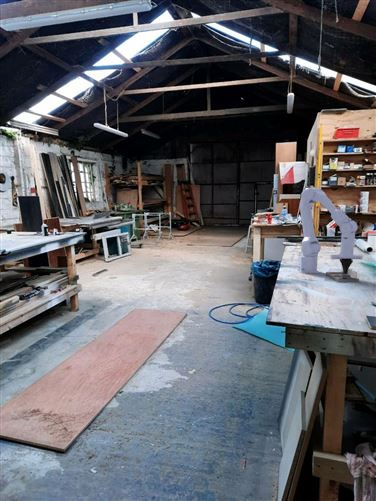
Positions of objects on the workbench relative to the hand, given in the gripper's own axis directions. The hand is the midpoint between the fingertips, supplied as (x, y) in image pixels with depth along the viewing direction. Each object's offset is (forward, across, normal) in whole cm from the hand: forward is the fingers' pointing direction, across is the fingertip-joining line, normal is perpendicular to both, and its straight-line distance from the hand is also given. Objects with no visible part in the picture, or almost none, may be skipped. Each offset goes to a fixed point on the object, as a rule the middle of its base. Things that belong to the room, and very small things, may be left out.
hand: (345, 273), depth 157 cm
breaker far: (0, +2, +6) cm, 6 cm away
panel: (+2, -1, 0) cm, 3 cm away
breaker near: (0, +2, -6) cm, 6 cm away
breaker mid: (0, +2, 0) cm, 2 cm away
